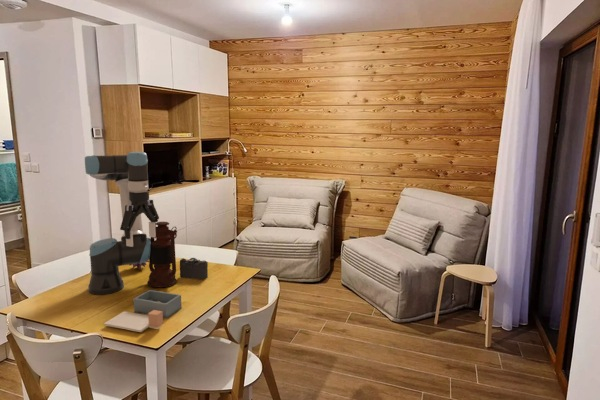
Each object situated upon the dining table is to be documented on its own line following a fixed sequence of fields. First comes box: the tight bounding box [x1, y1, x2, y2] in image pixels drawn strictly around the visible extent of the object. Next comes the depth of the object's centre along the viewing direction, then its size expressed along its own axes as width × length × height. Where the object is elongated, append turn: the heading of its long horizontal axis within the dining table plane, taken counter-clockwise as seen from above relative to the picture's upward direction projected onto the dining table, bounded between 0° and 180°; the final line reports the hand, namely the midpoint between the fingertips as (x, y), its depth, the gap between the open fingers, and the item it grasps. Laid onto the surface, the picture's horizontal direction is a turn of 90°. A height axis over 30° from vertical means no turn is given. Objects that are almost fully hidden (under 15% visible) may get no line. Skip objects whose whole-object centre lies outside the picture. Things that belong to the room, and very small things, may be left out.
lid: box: [103, 310, 164, 333], centre depth 156 cm, size 21×11×7 cm, turn 72°
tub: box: [133, 289, 183, 319], centre depth 169 cm, size 16×10×6 cm, turn 71°
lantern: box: [146, 221, 178, 288], centre depth 197 cm, size 17×14×30 cm
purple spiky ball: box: [128, 260, 149, 270], centre depth 219 cm, size 12×12×12 cm
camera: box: [179, 257, 209, 280], centre depth 210 cm, size 14×11×10 cm
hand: (141, 241), depth 167 cm, fingers open, 13 cm apart
